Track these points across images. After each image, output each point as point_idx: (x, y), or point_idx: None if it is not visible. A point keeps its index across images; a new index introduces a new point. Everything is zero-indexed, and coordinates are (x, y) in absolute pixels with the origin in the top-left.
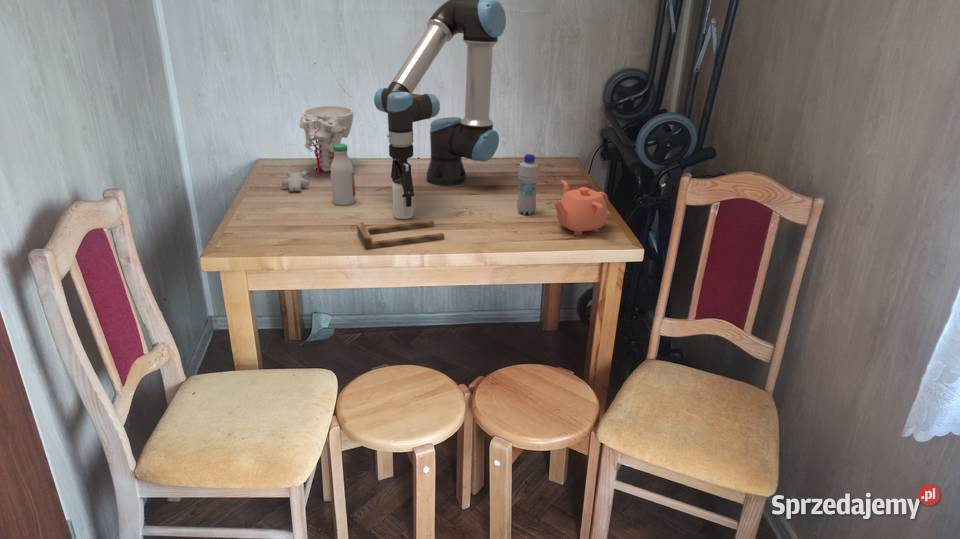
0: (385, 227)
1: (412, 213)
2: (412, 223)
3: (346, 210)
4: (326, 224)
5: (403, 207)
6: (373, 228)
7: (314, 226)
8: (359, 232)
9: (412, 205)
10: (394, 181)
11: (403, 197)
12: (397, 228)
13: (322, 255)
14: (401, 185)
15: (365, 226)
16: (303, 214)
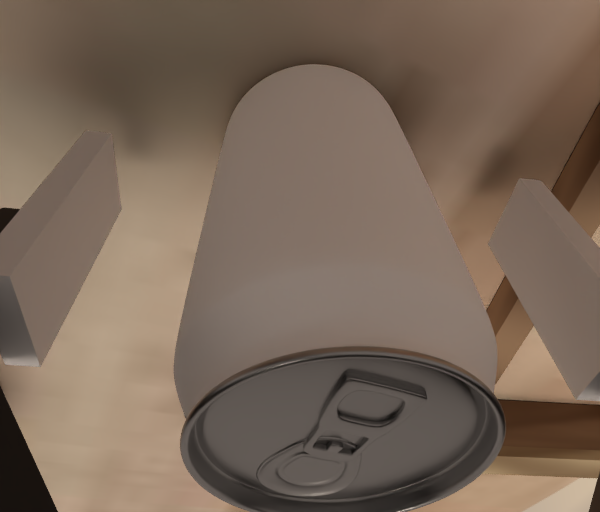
0: (511, 346)
1: (548, 190)
2: (593, 191)
3: (83, 394)
4: None
5: (517, 294)
6: None
7: None
8: None
9: (399, 135)
10: (255, 494)
11: (581, 387)
12: None
13: (527, 506)
14: (456, 462)
15: (516, 456)
16: (105, 500)
